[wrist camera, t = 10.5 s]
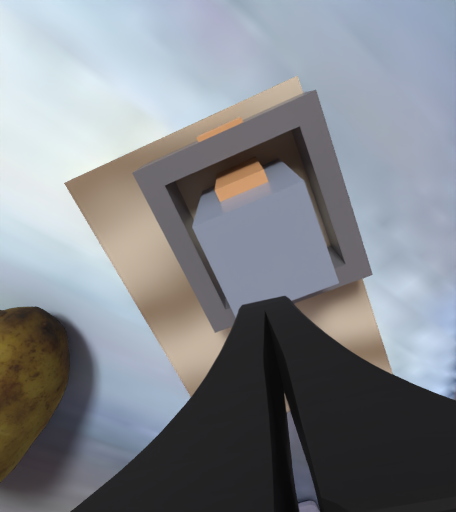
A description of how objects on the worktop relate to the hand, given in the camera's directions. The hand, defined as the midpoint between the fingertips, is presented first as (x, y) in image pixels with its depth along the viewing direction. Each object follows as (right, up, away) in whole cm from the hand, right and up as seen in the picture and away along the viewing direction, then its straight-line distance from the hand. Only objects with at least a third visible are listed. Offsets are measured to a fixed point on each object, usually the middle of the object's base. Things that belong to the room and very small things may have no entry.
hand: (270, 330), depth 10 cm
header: (0, +5, +9) cm, 10 cm away
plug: (0, +4, +8) cm, 9 cm away
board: (0, 0, +10) cm, 10 cm away
